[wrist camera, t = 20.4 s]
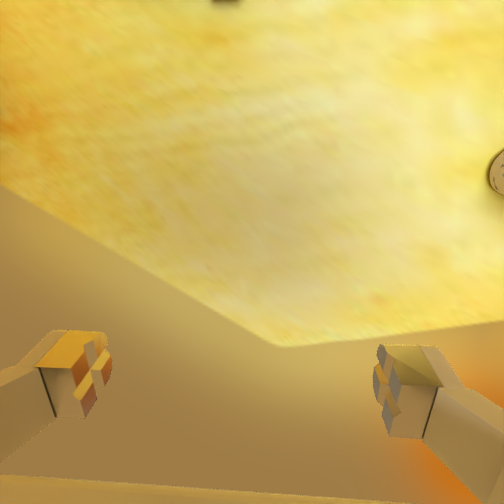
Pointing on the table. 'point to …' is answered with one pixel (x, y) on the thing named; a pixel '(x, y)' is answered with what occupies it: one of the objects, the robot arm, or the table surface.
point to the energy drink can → (498, 174)
